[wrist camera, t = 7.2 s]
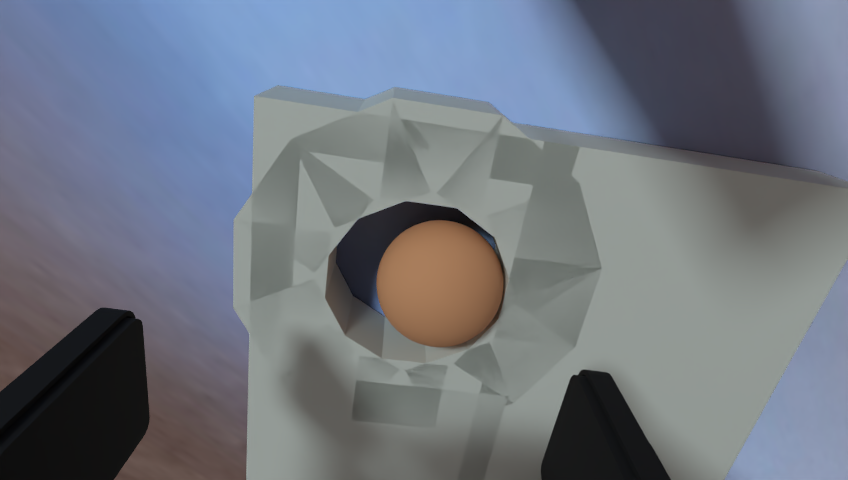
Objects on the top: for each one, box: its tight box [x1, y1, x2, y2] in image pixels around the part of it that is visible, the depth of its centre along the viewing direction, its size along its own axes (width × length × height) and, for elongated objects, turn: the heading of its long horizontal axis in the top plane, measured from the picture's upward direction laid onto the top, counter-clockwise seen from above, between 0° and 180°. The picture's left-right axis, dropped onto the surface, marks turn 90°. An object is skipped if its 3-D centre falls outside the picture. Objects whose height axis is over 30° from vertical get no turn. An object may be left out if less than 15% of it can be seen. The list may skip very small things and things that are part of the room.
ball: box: [377, 220, 503, 347], centre depth 15 cm, size 4×4×4 cm
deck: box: [233, 85, 848, 480], centre depth 17 cm, size 18×16×2 cm
